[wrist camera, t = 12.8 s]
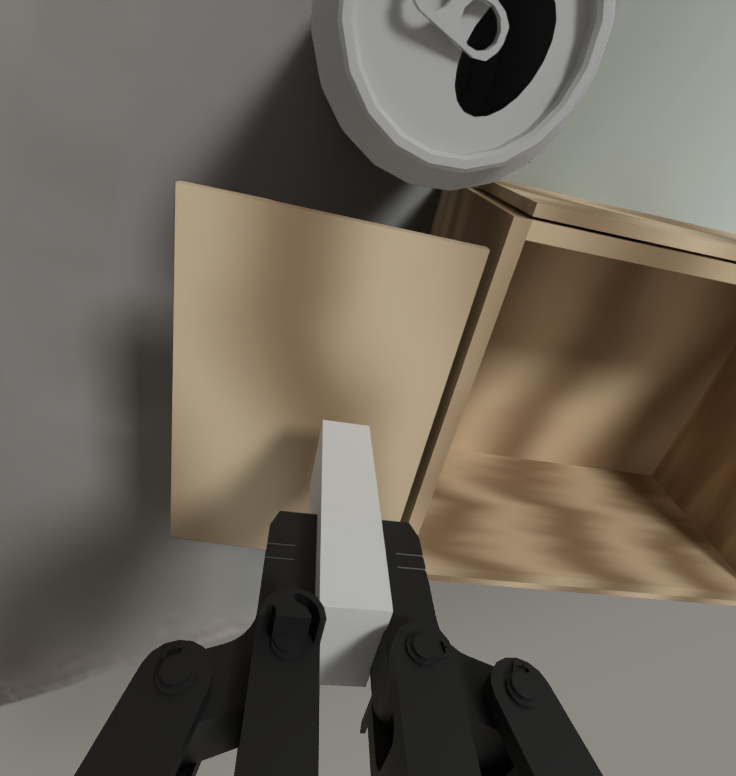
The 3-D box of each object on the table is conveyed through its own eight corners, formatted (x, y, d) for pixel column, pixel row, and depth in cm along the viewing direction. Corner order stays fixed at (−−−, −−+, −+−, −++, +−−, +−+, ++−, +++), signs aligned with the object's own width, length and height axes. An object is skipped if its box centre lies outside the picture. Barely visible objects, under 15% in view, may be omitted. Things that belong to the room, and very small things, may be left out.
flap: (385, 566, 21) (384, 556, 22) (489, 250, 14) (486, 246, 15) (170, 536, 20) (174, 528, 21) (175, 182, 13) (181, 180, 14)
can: (418, 191, 24) (489, 257, 13) (285, 84, 21) (242, 64, 11) (527, 38, 21) (725, -29, 10) (388, -107, 18) (467, -387, 8)
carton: (372, 449, 31) (389, 579, 23) (448, 164, 23) (520, 199, 14) (646, 484, 34) (751, 610, 26) (798, 245, 26) (1027, 313, 18)
